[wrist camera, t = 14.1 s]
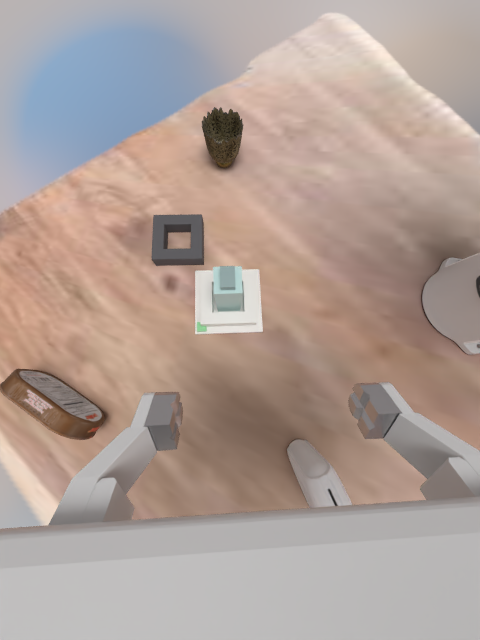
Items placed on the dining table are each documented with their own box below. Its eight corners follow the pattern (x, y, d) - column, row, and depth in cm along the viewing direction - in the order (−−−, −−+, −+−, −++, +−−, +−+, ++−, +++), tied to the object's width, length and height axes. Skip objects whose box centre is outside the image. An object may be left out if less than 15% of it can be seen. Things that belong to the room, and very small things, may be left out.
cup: (244, 152, 49) (247, 111, 41) (237, 180, 47) (238, 143, 40) (211, 145, 49) (207, 102, 41) (202, 172, 48) (197, 134, 40)
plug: (239, 289, 42) (241, 262, 31) (240, 310, 41) (243, 290, 30) (217, 290, 42) (212, 263, 31) (218, 311, 41) (212, 291, 30)
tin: (34, 381, 38) (-21, 384, 30) (47, 365, 39) (-3, 364, 30) (104, 432, 37) (68, 451, 29) (117, 415, 37) (84, 428, 29)
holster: (203, 222, 45) (201, 214, 43) (203, 264, 43) (202, 258, 41) (157, 223, 45) (153, 215, 42) (156, 265, 43) (151, 259, 40)
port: (258, 270, 43) (260, 263, 40) (262, 332, 41) (264, 329, 38) (195, 272, 43) (193, 265, 40) (195, 334, 40) (192, 331, 38)
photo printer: (333, 498, 36) (385, 565, 24) (309, 510, 35) (349, 585, 23) (305, 434, 38) (339, 465, 26) (282, 445, 37) (306, 482, 25)
